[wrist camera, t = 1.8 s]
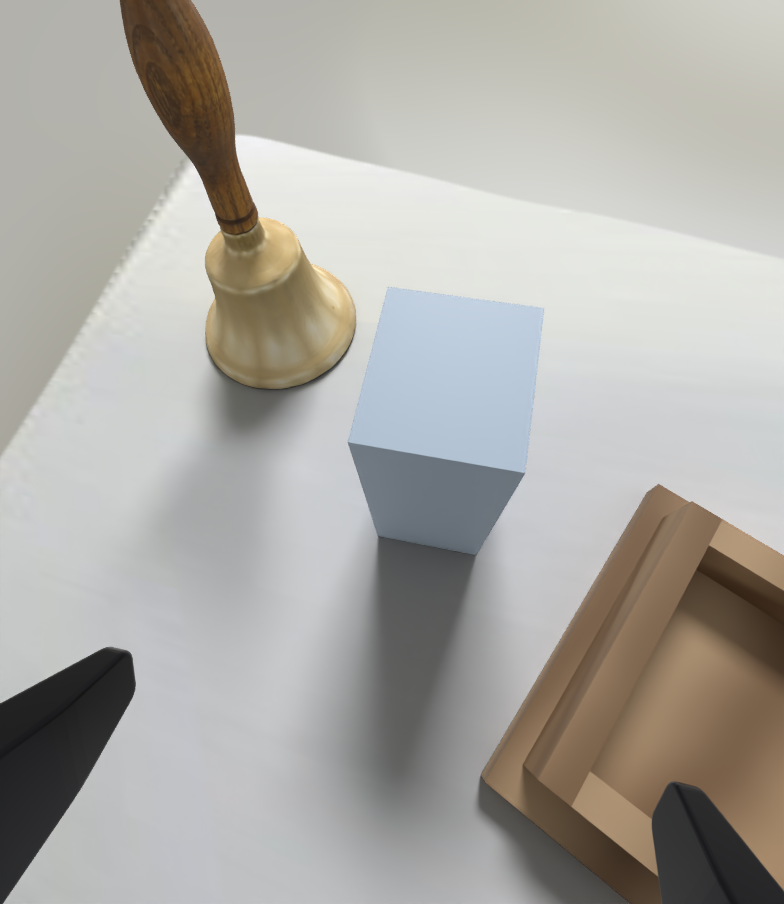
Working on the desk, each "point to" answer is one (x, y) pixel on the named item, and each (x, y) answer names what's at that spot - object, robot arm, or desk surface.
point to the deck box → (445, 416)
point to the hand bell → (237, 215)
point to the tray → (658, 698)
